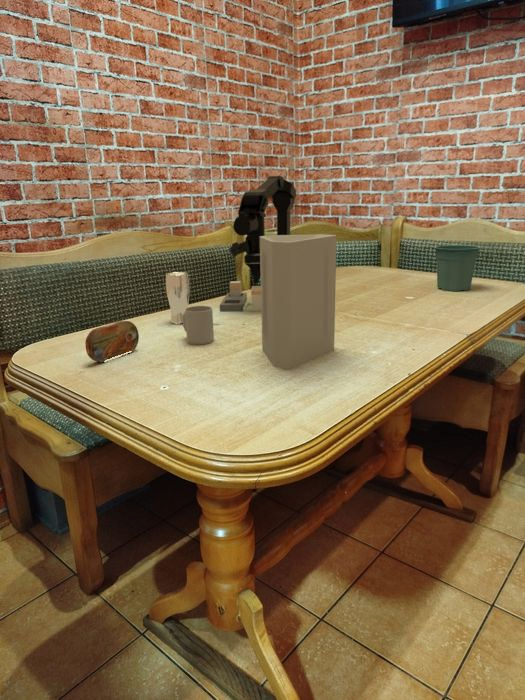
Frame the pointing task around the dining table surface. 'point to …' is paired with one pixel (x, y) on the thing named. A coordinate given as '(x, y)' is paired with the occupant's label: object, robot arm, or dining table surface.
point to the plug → (256, 296)
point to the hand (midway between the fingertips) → (257, 281)
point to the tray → (250, 307)
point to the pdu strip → (234, 298)
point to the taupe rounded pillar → (297, 297)
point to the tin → (111, 340)
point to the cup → (198, 324)
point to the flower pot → (455, 266)
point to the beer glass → (177, 294)
